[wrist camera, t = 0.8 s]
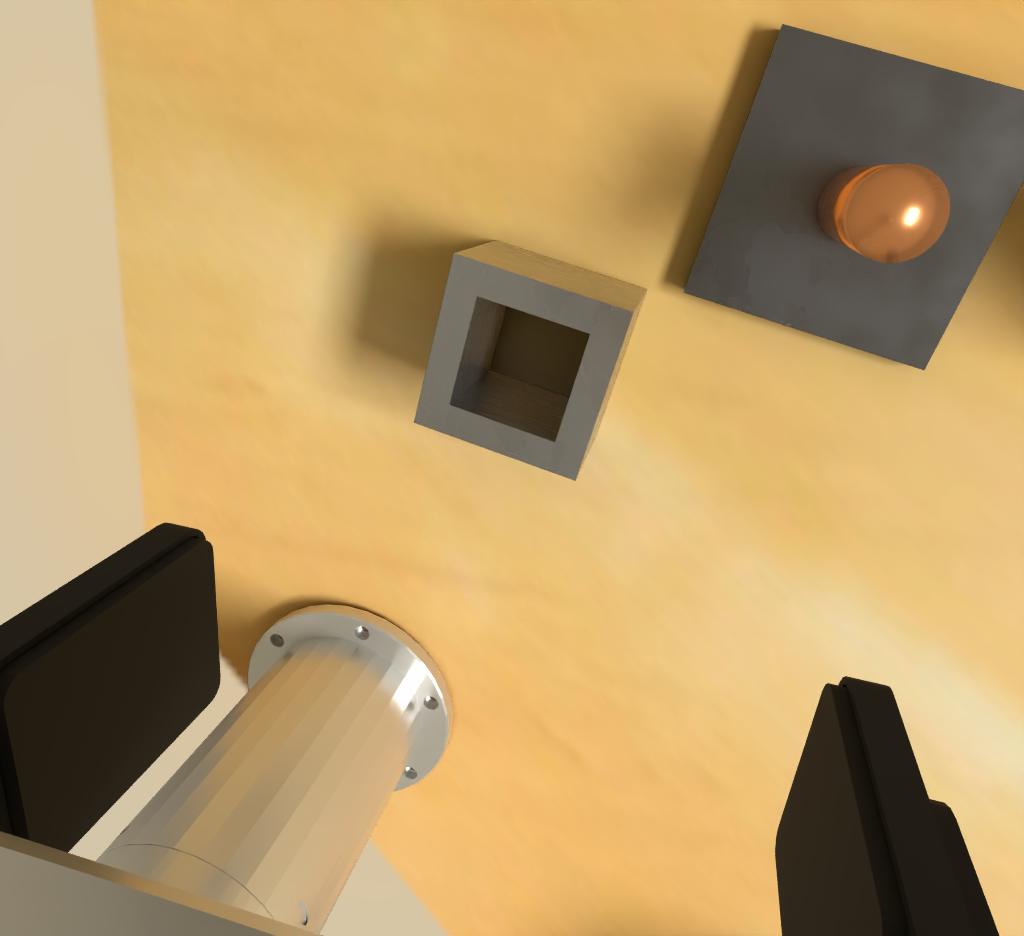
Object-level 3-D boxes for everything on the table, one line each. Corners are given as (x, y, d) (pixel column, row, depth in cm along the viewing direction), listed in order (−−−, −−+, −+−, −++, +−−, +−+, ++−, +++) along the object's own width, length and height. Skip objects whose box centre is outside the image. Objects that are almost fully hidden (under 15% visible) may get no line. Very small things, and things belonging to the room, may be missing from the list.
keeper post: (917, 364, 31) (980, 421, 24) (684, 289, 32) (675, 321, 25) (1053, 104, 27) (1177, 78, 20) (780, 29, 28) (803, -22, 21)
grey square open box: (596, 434, 36) (575, 480, 30) (458, 385, 36) (414, 422, 31) (647, 289, 33) (633, 312, 27) (495, 240, 34) (454, 253, 28)
